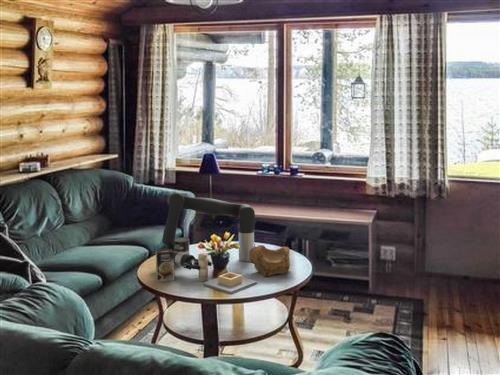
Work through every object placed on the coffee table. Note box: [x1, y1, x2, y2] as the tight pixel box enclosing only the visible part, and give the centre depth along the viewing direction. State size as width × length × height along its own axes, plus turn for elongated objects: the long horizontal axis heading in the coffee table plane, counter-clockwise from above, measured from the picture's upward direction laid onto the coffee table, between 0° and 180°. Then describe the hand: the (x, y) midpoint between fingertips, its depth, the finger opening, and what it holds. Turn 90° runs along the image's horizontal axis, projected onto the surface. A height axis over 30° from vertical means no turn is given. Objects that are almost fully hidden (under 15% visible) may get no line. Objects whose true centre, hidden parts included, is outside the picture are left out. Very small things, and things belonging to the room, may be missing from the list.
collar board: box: [202, 271, 258, 295], centre depth 294 cm, size 20×20×5 cm
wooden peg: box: [197, 252, 209, 282], centre depth 301 cm, size 5×5×14 cm
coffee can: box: [174, 236, 190, 266], centre depth 331 cm, size 10×10×14 cm
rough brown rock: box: [249, 244, 291, 278], centre depth 310 cm, size 23×17×15 cm
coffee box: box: [155, 248, 175, 283], centre depth 301 cm, size 9×6×16 cm
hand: (205, 266), depth 300 cm, fingers open, 8 cm apart
